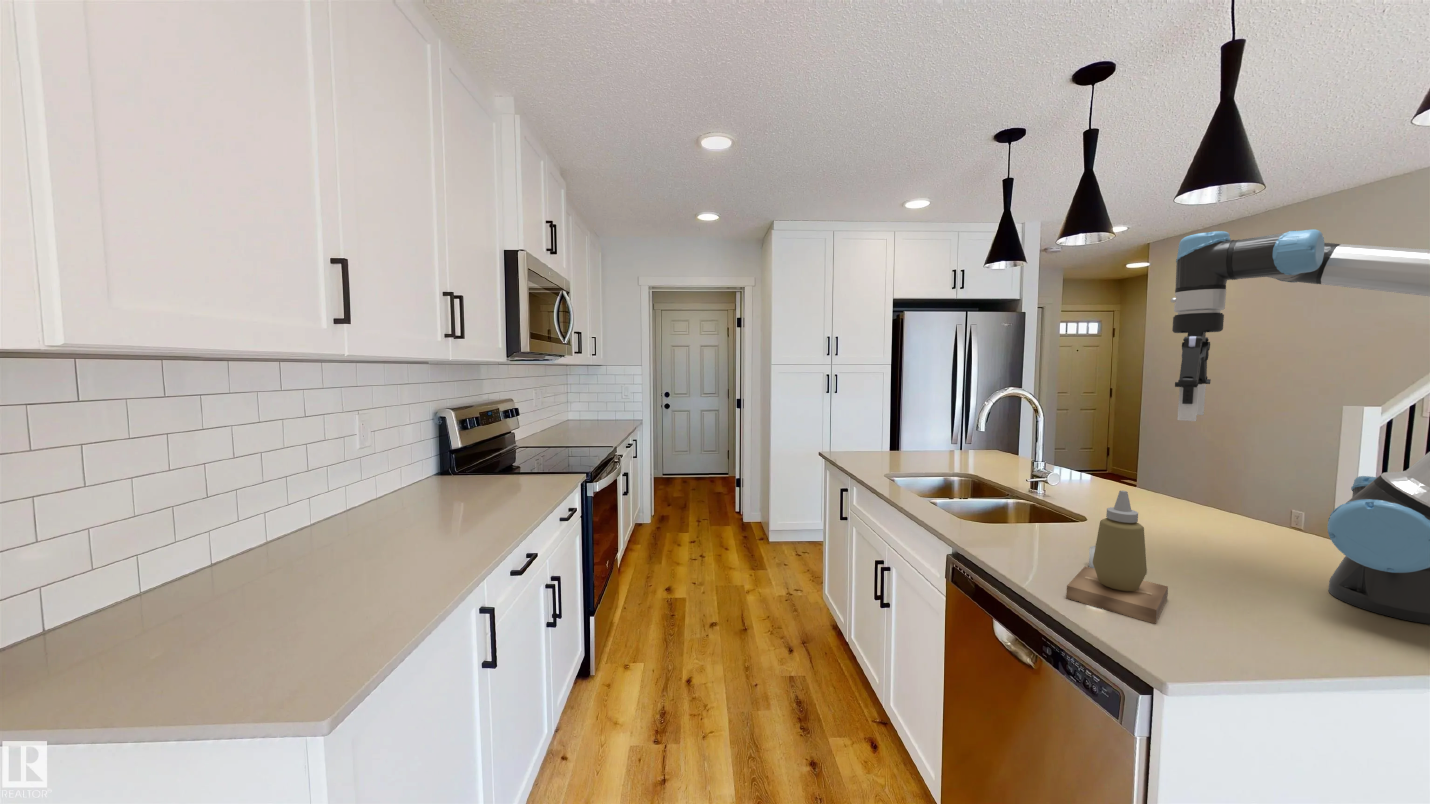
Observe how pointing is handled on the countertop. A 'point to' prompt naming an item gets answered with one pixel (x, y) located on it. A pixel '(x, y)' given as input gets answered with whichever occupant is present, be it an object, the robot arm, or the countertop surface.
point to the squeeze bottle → (1120, 547)
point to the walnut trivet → (1118, 596)
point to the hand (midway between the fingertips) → (1190, 417)
